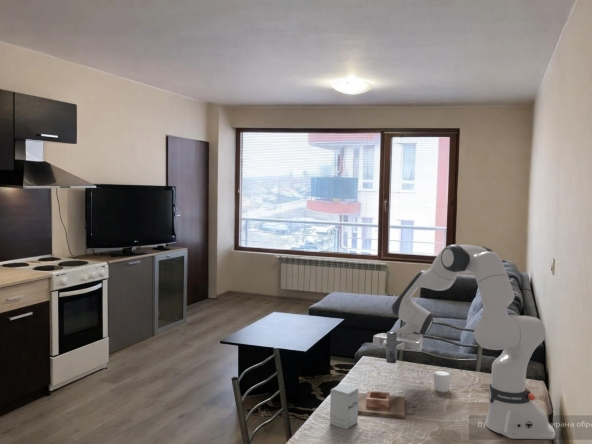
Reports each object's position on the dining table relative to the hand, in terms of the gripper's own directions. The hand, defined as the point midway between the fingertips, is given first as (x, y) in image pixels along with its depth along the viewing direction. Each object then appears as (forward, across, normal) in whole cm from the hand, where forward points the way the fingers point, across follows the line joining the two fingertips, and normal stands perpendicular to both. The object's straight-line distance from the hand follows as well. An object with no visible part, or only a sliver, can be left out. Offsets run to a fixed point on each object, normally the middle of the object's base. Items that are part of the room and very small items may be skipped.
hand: (390, 346), depth 216 cm
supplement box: (+35, -3, +20) cm, 40 cm away
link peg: (-1, 0, +6) cm, 7 cm away
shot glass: (-17, +16, +20) cm, 31 cm away
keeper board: (+14, +1, +20) cm, 24 cm away
